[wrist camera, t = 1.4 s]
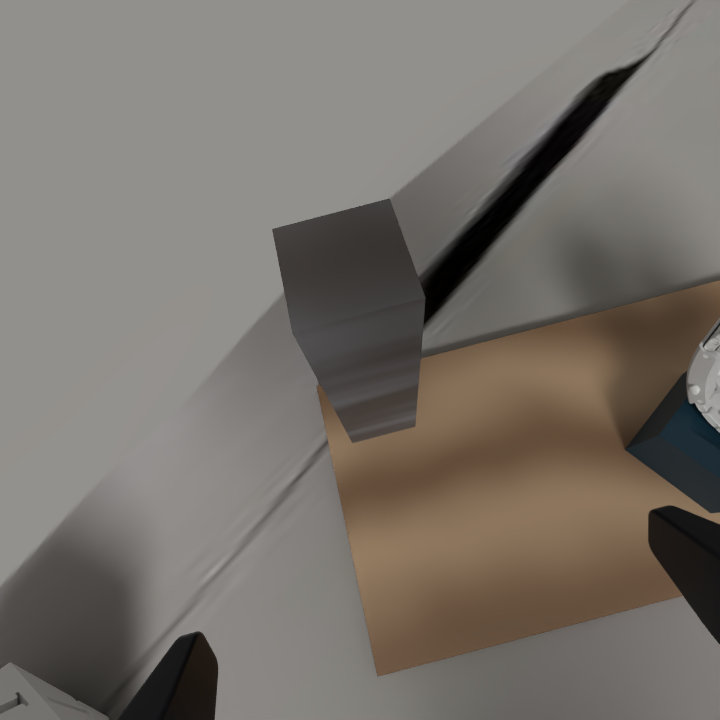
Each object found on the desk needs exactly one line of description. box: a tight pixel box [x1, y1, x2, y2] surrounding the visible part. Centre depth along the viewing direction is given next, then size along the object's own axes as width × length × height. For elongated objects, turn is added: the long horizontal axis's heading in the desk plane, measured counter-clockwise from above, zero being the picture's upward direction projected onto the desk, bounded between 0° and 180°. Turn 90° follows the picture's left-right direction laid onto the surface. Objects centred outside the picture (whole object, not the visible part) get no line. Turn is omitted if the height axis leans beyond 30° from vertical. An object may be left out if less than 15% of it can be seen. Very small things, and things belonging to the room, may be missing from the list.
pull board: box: [273, 199, 720, 676], centre depth 16 cm, size 14×25×14 cm, turn 104°
